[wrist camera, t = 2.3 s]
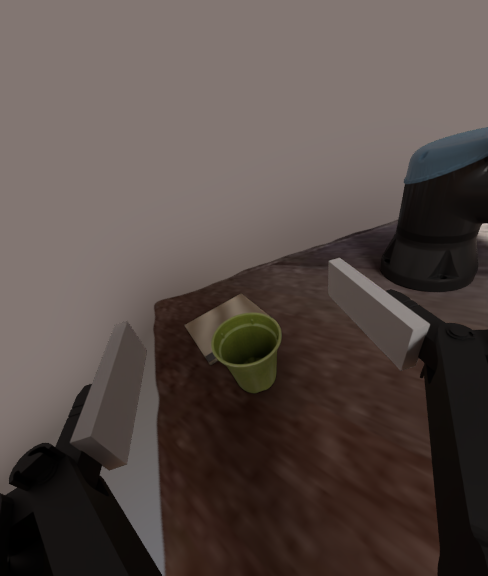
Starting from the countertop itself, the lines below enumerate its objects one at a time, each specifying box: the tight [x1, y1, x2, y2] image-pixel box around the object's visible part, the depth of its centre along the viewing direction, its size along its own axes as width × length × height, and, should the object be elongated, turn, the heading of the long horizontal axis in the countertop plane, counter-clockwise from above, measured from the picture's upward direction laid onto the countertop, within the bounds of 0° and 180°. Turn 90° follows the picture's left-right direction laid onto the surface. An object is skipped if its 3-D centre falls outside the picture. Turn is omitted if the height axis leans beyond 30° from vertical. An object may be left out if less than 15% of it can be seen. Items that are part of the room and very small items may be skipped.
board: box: [185, 294, 275, 365], centre depth 45 cm, size 14×12×1 cm
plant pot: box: [211, 312, 282, 393], centre depth 33 cm, size 9×9×9 cm
